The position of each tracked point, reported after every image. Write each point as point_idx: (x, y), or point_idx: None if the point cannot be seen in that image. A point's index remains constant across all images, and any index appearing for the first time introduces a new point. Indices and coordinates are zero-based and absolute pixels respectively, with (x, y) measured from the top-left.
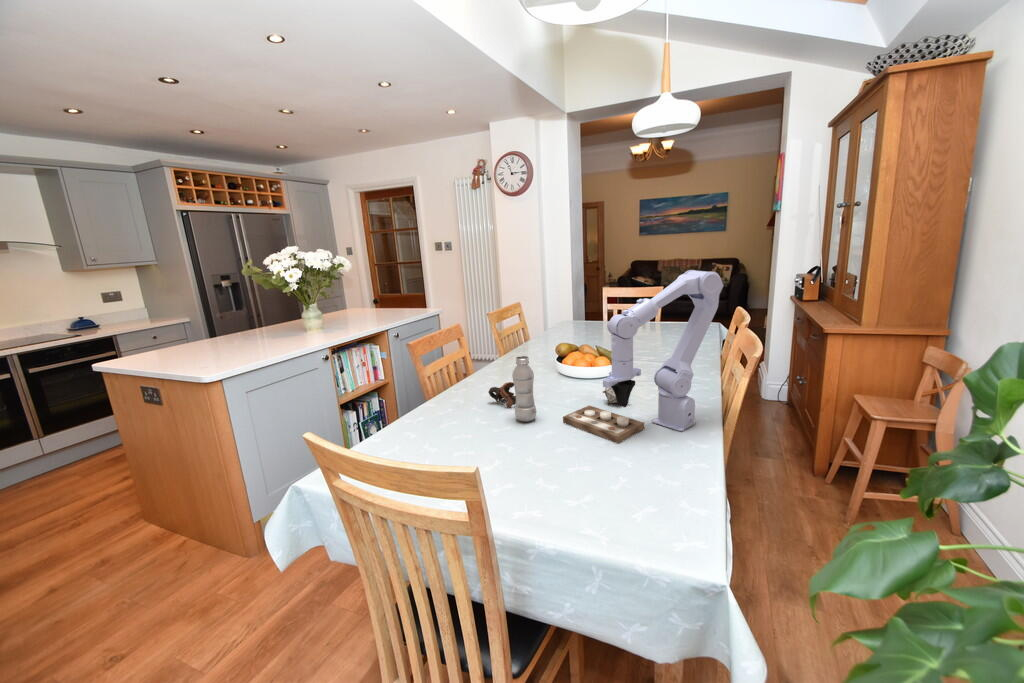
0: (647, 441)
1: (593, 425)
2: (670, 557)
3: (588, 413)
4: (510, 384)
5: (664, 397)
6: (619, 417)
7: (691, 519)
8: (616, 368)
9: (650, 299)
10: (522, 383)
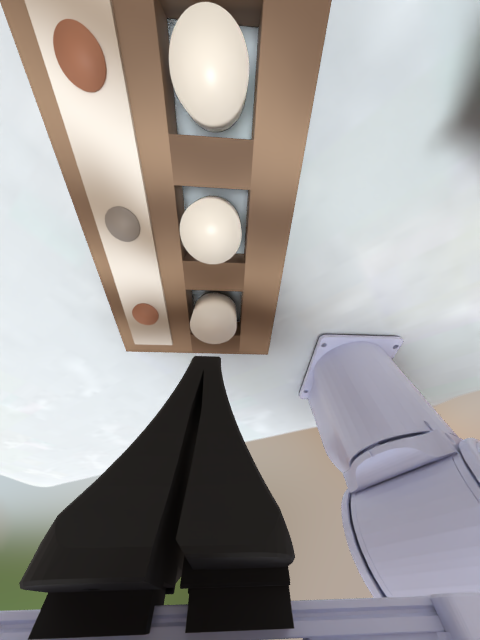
0: None
1: (101, 238)
2: (13, 472)
3: (181, 86)
4: None
5: (352, 453)
6: (215, 311)
7: (78, 466)
8: None
9: None
10: None
